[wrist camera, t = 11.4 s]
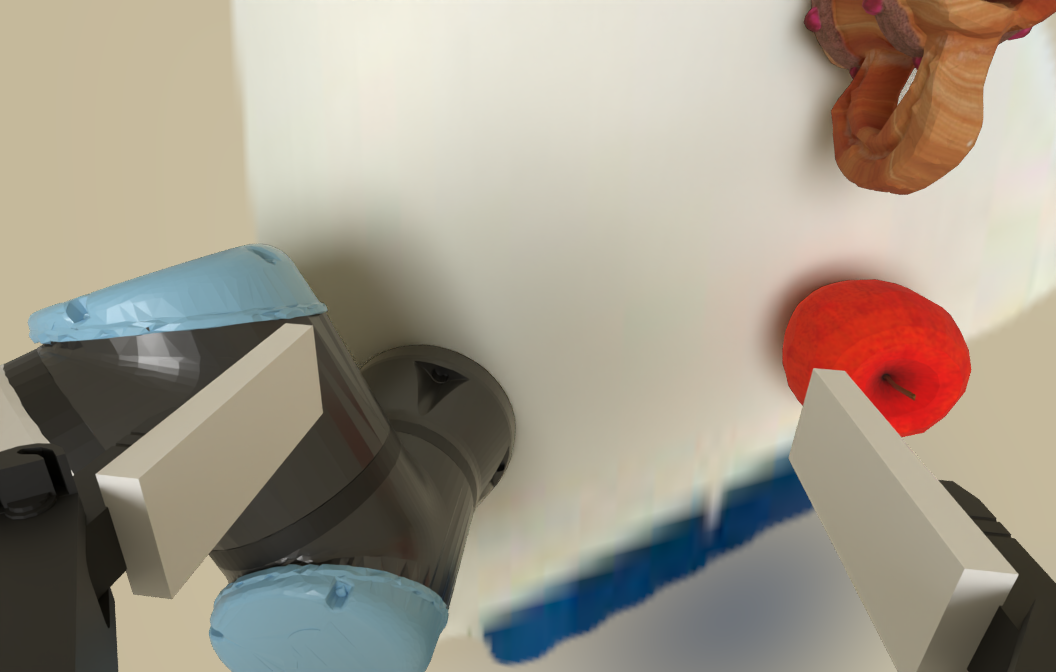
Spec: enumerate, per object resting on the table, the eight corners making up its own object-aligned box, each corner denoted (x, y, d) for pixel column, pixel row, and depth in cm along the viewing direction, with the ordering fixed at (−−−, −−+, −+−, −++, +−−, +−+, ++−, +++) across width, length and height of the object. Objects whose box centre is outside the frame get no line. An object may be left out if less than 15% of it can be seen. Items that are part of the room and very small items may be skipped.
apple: (823, 400, 46) (896, 503, 35) (731, 328, 45) (776, 411, 33) (931, 309, 42) (1050, 391, 31) (834, 226, 41) (923, 282, 30)
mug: (828, -112, 33) (991, -243, 20) (971, -86, 33) (1235, -202, 19) (746, 151, 39) (826, 190, 26) (866, 174, 39) (1012, 225, 26)
